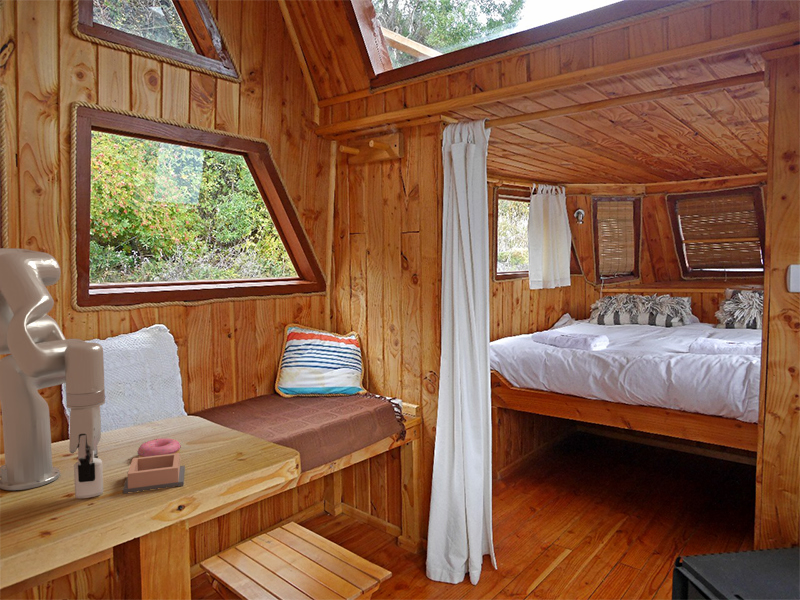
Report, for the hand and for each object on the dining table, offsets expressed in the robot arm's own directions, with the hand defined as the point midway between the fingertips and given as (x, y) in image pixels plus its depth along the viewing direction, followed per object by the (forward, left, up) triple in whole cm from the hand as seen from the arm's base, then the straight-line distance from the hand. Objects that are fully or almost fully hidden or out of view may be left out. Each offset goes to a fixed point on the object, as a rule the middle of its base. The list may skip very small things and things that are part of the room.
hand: (88, 476), depth 127 cm
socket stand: (+13, +5, -5) cm, 15 cm away
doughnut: (+13, +23, -5) cm, 27 cm away
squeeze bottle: (0, 0, -4) cm, 4 cm away
